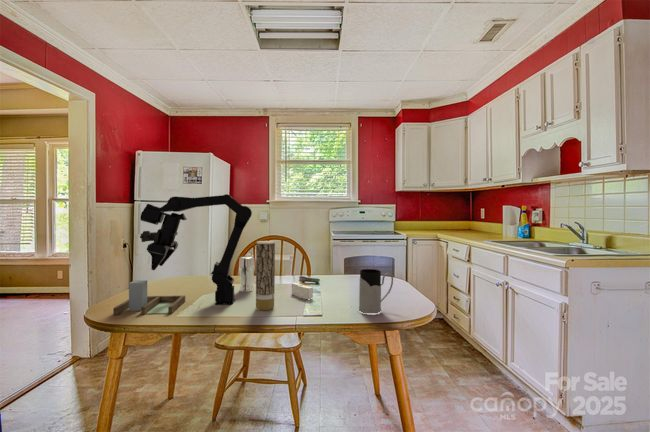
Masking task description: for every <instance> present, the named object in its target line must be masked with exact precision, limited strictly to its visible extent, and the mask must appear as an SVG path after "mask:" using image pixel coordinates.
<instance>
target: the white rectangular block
mask: <svg viewBox="0 0 650 432" xmlns="http://www.w3.org/2000/svg"><path fill="white" fill-rule="evenodd" d="M313 289H314V287H312V286H307V285H304V284H303V283H298V282H294V283H291V295H293V296H296V297H297V298H300V299H302V298H303V300H306V299H311V298H314V295H313V294H314V290H313ZM311 300H312V299H311Z"/></svg>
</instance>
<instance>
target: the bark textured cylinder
mask: <svg viewBox="0 0 650 432" xmlns="http://www.w3.org/2000/svg"><path fill="white" fill-rule="evenodd" d="M255 245H256V249H255V250H256V252H255V257H256V258H255V262H256V263H255V308H256V309H257V310H258V311H263V312H264V311H271V310H273V309H274V308H275V281H276V280H275V279H276V278H275V277H276V275H275V269H276V268H275V267H276V264H275V262H276V258H275V257H276V256H275V255H276V242H275V241H273V240H258V241H256V243H255Z"/></svg>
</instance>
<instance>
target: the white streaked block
mask: <svg viewBox="0 0 650 432" xmlns="http://www.w3.org/2000/svg"><path fill="white" fill-rule="evenodd" d="M255 262H256V260H255V256H248V255H247V256H240V257H239V261H238V272H239V278H240V285H239V286H240V288H239V291H240V293H241V292H243V293H249V292H253V291H254V285H253V284H254V275H255V271H256V263H255Z"/></svg>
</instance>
